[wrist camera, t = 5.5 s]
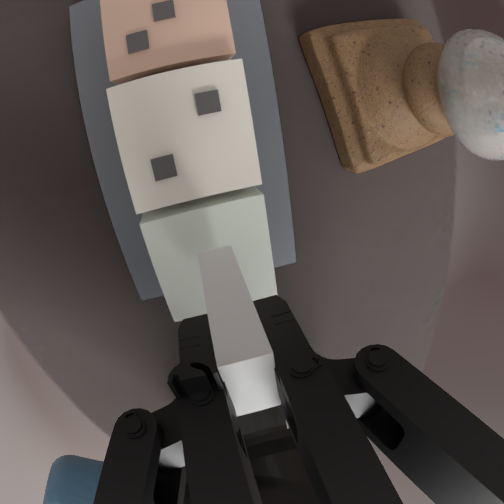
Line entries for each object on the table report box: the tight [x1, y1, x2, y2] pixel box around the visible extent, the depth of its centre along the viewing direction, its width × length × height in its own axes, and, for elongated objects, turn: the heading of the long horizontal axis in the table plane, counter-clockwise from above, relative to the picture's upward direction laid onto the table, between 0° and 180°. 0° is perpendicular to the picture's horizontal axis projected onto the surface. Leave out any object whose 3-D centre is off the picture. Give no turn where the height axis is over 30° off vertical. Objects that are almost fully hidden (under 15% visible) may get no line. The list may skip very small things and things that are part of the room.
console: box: [69, 0, 296, 301], centre depth 16 cm, size 22×12×4 cm, turn 9°
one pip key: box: [139, 186, 278, 322], centre depth 16 cm, size 6×6×4 cm
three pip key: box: [100, 0, 236, 85], centre depth 11 cm, size 6×6×4 cm
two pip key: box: [106, 59, 262, 215], centre depth 13 cm, size 6×6×4 cm
